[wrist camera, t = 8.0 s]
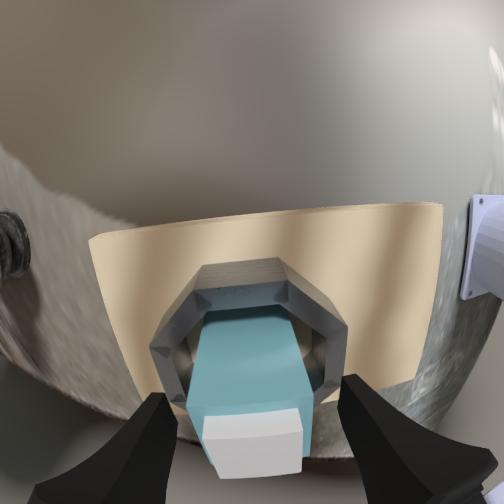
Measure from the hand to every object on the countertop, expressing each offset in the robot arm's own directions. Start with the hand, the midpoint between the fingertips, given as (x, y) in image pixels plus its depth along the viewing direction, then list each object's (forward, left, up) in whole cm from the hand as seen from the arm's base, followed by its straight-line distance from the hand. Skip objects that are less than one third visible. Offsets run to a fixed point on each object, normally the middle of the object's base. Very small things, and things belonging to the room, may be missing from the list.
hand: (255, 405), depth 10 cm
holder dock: (-2, 0, -7) cm, 7 cm away
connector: (0, 0, -5) cm, 5 cm away
